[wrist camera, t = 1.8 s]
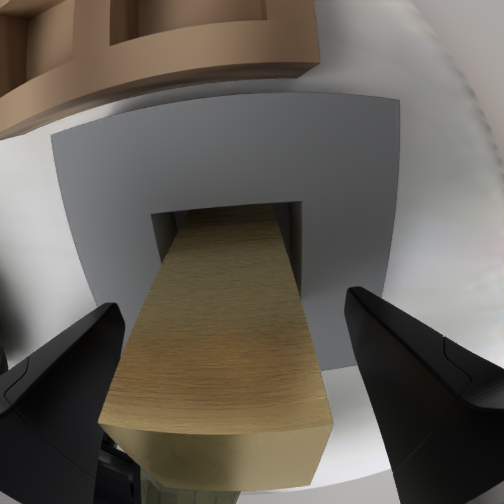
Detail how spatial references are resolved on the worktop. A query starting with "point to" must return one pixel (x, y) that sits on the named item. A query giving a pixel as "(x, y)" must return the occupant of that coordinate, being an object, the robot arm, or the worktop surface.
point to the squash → (3, 361)
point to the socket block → (239, 193)
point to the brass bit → (222, 363)
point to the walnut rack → (140, 50)
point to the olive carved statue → (181, 494)
